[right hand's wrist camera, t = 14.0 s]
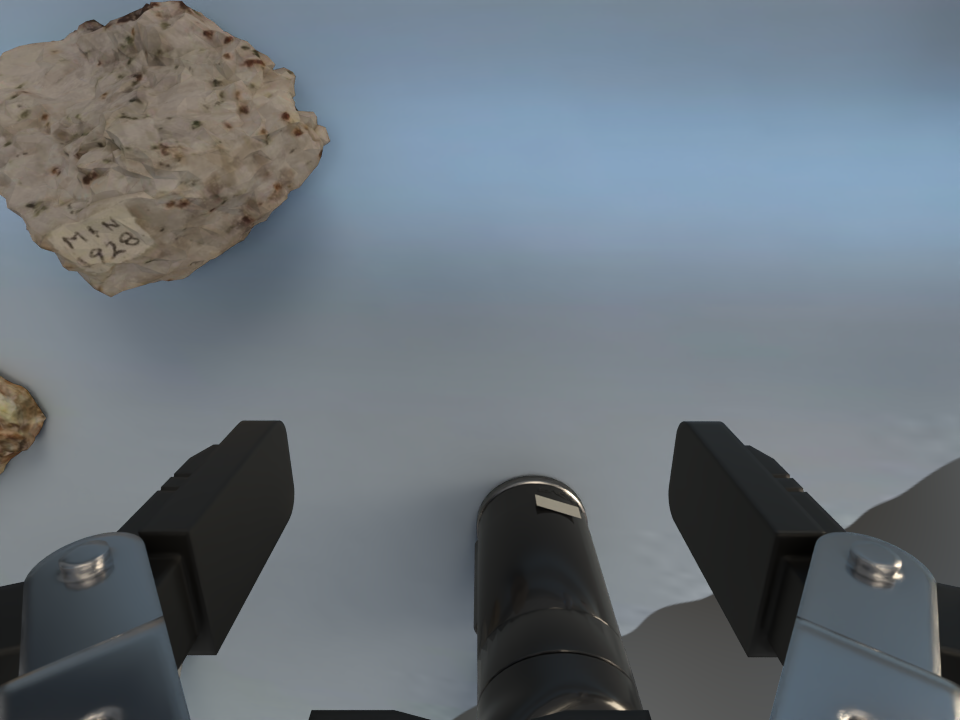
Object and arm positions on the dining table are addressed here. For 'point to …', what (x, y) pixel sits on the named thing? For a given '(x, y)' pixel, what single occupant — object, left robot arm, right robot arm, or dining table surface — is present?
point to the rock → (148, 144)
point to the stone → (17, 421)
